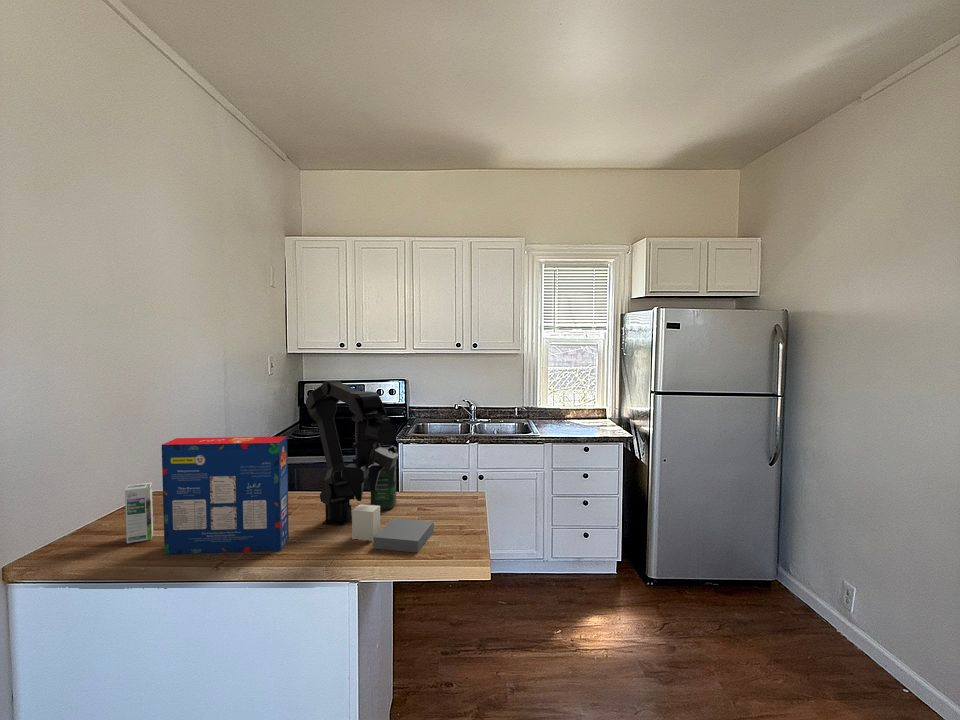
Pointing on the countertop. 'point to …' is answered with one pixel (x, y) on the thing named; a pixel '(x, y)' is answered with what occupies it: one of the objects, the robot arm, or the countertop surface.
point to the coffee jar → (385, 488)
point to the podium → (404, 535)
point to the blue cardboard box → (225, 495)
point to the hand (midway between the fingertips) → (366, 495)
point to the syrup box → (139, 512)
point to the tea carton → (365, 522)
